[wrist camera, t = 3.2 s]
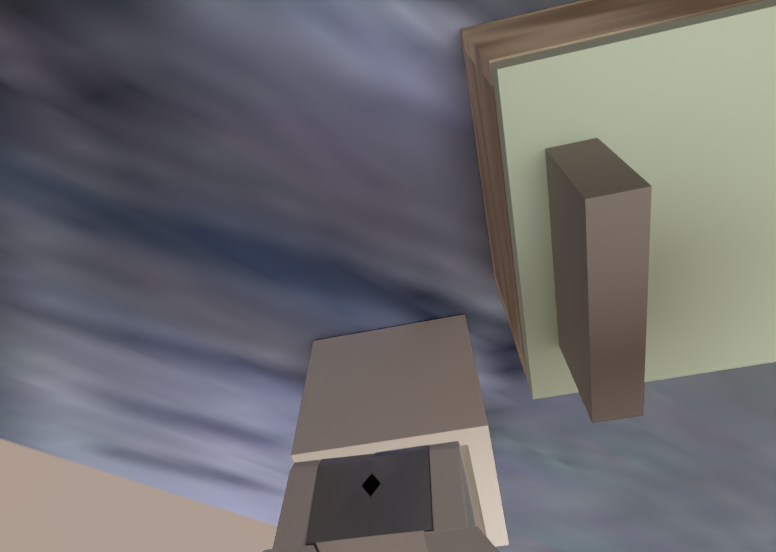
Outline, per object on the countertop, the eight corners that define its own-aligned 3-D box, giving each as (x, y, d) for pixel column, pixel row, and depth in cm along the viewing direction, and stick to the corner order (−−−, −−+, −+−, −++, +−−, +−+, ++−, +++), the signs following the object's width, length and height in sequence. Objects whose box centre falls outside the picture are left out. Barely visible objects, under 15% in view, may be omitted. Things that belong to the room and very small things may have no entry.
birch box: (494, 279, 23) (525, 375, 18) (460, 29, 18) (489, 60, 13) (741, 234, 22) (851, 322, 16) (780, -48, 17) (956, -47, 11)
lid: (527, 381, 17) (559, 481, 14) (490, 62, 12) (527, 102, 9) (858, 328, 16) (976, 423, 13) (969, -47, 11) (1207, -47, 8)
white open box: (351, 443, 28) (342, 565, 22) (313, 340, 24) (291, 455, 19) (484, 423, 27) (508, 544, 22) (464, 314, 24) (488, 425, 18)
